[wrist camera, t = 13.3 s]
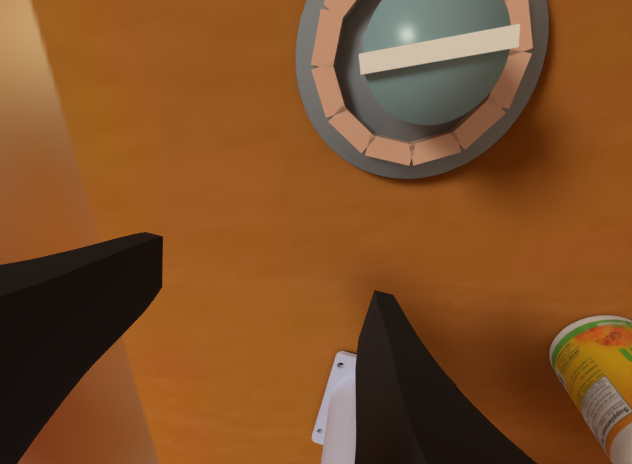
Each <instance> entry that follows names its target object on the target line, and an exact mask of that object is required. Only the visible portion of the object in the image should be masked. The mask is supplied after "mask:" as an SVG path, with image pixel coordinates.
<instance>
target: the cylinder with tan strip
mask: <svg viewBox="0 0 632 464" xmlns="http://www.w3.org/2000/svg"><path fill="white" fill-rule="evenodd" d="M519 36H520V24H516V25H511V22H510V16H509V12H508V9H507V6H506V4H505V1H504V0H382V1H381V2H380V3H379V5H378V7H377V8H376V10H375V12H374V13H373V16H372V18H371V20H370V22H369V25H368V28H367V31H366V34H365V39H364V44H363V53H360V54H359V64H360V74H361V75H364V74H365V77H366V81H367V84H368V86H369V88H370V91H371V93H372V94H373V96H374V98H375V99H376V100H377V102H378V103H379V104H380V105H381V106H382V107H383V108H384V109H385V110H386V111H387V112H388V113H390V114H391V115H393V116H394V117H396V118H398V119H400V120H402V121H405V122H408V123H412V124H417V125H436V124H441V123H446V122H449V121H452V120H454V119H456V118H459V117H461V116H463V115H464V114H466V113H468V112H469V111H471V110H472V109H473V108H475V107H476V106H477V105H478V104H480V103H481V102H482V101H483V100H484V99H485V98H486V97H487V95H488V94H489V93H490V92H491V90H492V89H493V88H494V86H495V85H496V83H497V82H498V80H499V78H500V76H501V74H502V72H503V70H504V68H505V65H506V62H507V59H508V55H509V51H510V49H513V48H517V47H519Z"/></svg>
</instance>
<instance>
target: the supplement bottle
mask: <svg viewBox="0 0 632 464" xmlns="http://www.w3.org/2000/svg"><path fill="white" fill-rule="evenodd" d="M549 359H550V363H551V366H552V368H553V370H554V372H555V373H556V375H557V377H558V379H559V380H560V382H561V383H562V385H563V386H564V388H565V390H566V391H567V393H568V394H569V396H570V397H571V399H572V401H573V402H574V404H575V406H576V407H577V409H578V410H579V412H580V414H581V415H582V417H583V418H584V420H585V422H586V423H587V425H588V426H589V428H590V429H591V431H592V433H593V434H594V436H595V437H596V439H597V440H598V442H599V444H600V445H601V447H602V448H603V450H604V452H605V453H606V455H607V456H608V458H609V460H610V461H611V463H612V464H632V320H629V319H627V318H623V317H619V316H612V315H600V316H592V317H588V318H584V319H581V320H578V321H576V322H574V323H572V324H570V325H568V326H567V327H565V328H564V329H563V330H562V331H561V332H560V333H559V334H558V335H557V336H556V337H555V339H554V340H553V342H552V344H551V347H550V351H549Z"/></svg>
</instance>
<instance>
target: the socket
mask: <svg viewBox="0 0 632 464" xmlns="http://www.w3.org/2000/svg"><path fill="white" fill-rule="evenodd" d="M381 1H382V0H307V1H306V4H305V7H304V10H303V13H302V16H301V20H300V25H299V29H298V34H297V43H296V74H297V81H298V87H299V91H300V95H301V99H302V102H303V105H304V107H305V110H306V112H307V115H308V117H309V119H310V120H311V122H312V124H313V126H314V128H315V129H316V131H317V132H318V133H319V135H320V136H321V138H322V139H323V140H324V141H325V142H326V143H327V145H328V146H329V147H330V148H331V149H332V150H333V151H334V152H336V153H337V154H338V155H339V156H340V157H342V158H343V159H344V160H346V161H348V162H349V163H351V164H352V165H354V166H356V167H358V168H360V169H362V170H364V171H367V172H369V173H373V174H376V175H379V176H384V177H390V178H398V179H414V178H424V177H429V176H434V175H439V174H442V173H444V172H447V171H450V170H453V169H455V168H457V167H460V166H462V165H464V164H466V163H468V162H469V161H471V160H473V159H474V158H476V157H478V156H479V155H481V154H482V153H483V152H485V151H486V150H487V149H488V148H490V147H491V146H492V145H494V144H495V143H496V142H497V141H498V140H499V139H500V138H501V137H502V136H503V135H504V134H505V133H506V132H507V131H508V129H509V128H510V127H511V126H512V124H513V123H514V122H515V121H516V120H517V118H518V117H519V115H520V114H521V112H522V111H523V109H524V108H525V106H526V105H527V103H528V101H529V99H530V97H531V95H532V93H533V91H534V89H535V87H536V84H537V82H538V79H539V76H540V74H541V71H542V68H543V64H544V59H545V55H546V51H547V43H548V34H549V12H548V5H547V0H504V1H505V4H506V6H507V9H508V12H509V16H510V22H511V25H516V24H520V36H519V47H517V48H513V49H510V51H509V55H508V59H507V62H506V65H505V68H504V70H503V72H502V74H501V76H500V78H499V80H498V82H497V83H496V85H495V86H494V88H493V89H492V90H491V92H490V93H489V94H488V95H487V97H486V98H485V99H484V100H483V101H482V102H481V103H480V104H478V105H477V106H476V107H475V108H473V109H472V110H471V111H469V112H468V113H466V114H464V115H463V116H461V117H459V118H456V119H454V120H452V121H449V122H446V123H441V124H436V125H417V124H412V123H408V122H405V121H402V120H400V119H398V118H396V117H394V116H393V115H391V114H390V113H388V112H387V111H386V110H385V109H384V108H383V107H382V106H381V105H380V104H379V103H378V102H377V100H376V99H375V98H374V96H373V94H372V93H371V91H370V88H369V86H368V84H367V81H366V77H365V74H364V75H361V74H360V64H359V54H360V53H363V44H364V39H365V34H366V31H367V28H368V25H369V22H370V20H371V18H372V16H373V13H374V12H375V10H376V8H377V7H378V5H379V3H380V2H381Z"/></svg>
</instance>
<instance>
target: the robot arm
mask: <svg viewBox="0 0 632 464" xmlns="http://www.w3.org/2000/svg"><path fill="white" fill-rule="evenodd" d="M162 257H163V236H159V235H155V234H151V233H147V232H143V233H138V234H133V235H128V236H124V237H120V238H117V239H113V240H109V241H105V242H101V243H98V244H94V245H90V246H87V247H83V248H79V249H75V250H70V251H66V252H63V253H58V254H53V255H49V256H45V257H41V258H36V259H31V260H26V261H21V262H15V263H9V264H3V265H0V464H17V463H18V461H19V460H20V458H21V457H22V456H23V454H24V453H25V452H26V450H27V449H28V447H29V446H30V444H31V443H32V442H33V440H34V438H35V437H36V436H37V435H38V433H39V432H40V431H41V429H42V428H43V426H44V425H45V424H46V423H47V421H48V420H49V419H50V417H51V416H52V415H53V414H54V412H55V411H56V410H57V408H58V407H59V406H60V404H61V403H62V402H63V400H64V399H65V398H66V397H67V395H68V394H69V393H70V392H71V390H72V389H73V388H74V387H75V385H76V384H77V383H78V382H79V380H80V379H81V378H82V377H83V375H84V374H85V373H86V372H87V371H88V370H89V368H91V367H92V365H93V364H94V363H95V362H96V361H97V360H98V359H99V358H100V357H101V356H102V355H103V354H104V353H105V352H106V351H107V350H108V349H109V348H110V347H111V346H112V345H113V344H114V343H115V342H116V341H117V340H118V339H119V338H120V336H121V335H122V334H123V333H124V332H125V331H126V330H127V329H128V328H129V327H130V326H131V325H132V324H133V323H134V322H135V321H136V320H137V319H138V318H139V317H140V316H141V315H142V314H143V312H144V311H145V310H146V309H147V308H148V306H149V305H150V304H151V302H152V301H153V300H154V298H155V297H156V295H157V294H158V292H159V291H160V290H161V288H162ZM339 363H343V364H339ZM312 440H313V441H314V442H315V443H318V444H322V445H323V452H322V459H321V464H537V463H535V462H534V461H533V460H532V459H531V458H530V457H528V456H527V455H526V454H525V453H524V452H523V451H522V450H520V449H519V448H518V447H517V446H516V445H515V444H514V443H512V442H511V441H510V440H509V439H508V438H507V437H506V436H505V435H503V434H502V433H501V432H500V431H499V430H498V429H497V428H496V427H495V426H494V425H493V424H492V423H491V422H490V421H489V420H488V419H487V418H486V417H485V416H484V415H483V414H482V413H481V412H480V411H479V410H478V409H477V408H476V407H475V406H474V405H473V404H472V403H471V402H470V401H469V400H468V399H467V398H466V397H465V396H464V395H463V394H462V393H461V391H460V390H459V389H458V388H457V387H456V386H455V384H454V383H453V382H452V381H451V380H450V379H449V377H448V376H447V375H446V374H445V373H444V371H443V370H442V369H441V368H440V366H439V365H438V364H437V362H436V361H435V360H434V358H433V357H432V356H431V354H430V353H429V352H428V350H427V349H426V347H425V346H424V344H423V343H422V342H421V340H420V339H419V337H418V336H417V334H416V332H415V331H414V329H413V328H412V326H411V324H410V323H409V321H408V319H407V318H406V316H405V314H404V313H403V311H402V309H401V307H400V306H399V304H398V302H397V301H396V299H395V297H394V296H393V295H391V294H387V293H383V292H379V291H374V294H373V297H372V300H371V303H370V306H369V309H368V312H367V315H366V318H365V321H364V324H363V327H362V330H361V333H360V336H359V340H358V348H357V355H356V354H353V353H349V352H345V351H340V352H338V353H337V354H336V357H335V360H334V363H333V367H332V370H331V373H330V377H329V380H328V383H327V387H326V390H325V393H324V397H323V400H322V403H321V407H320V410H319V413H318V417H317V420H316V423H315V427H314V430H313V433H312Z"/></svg>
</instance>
